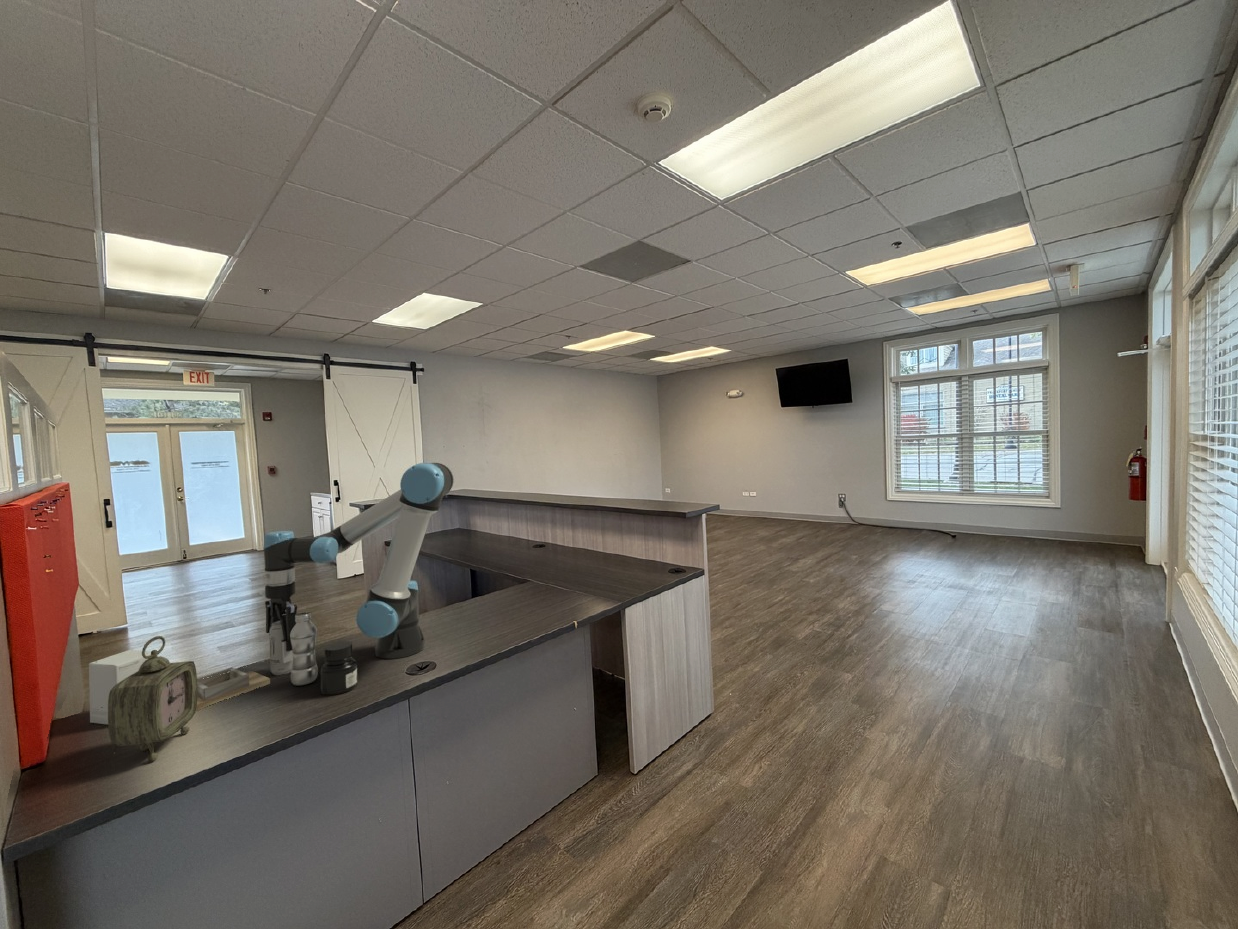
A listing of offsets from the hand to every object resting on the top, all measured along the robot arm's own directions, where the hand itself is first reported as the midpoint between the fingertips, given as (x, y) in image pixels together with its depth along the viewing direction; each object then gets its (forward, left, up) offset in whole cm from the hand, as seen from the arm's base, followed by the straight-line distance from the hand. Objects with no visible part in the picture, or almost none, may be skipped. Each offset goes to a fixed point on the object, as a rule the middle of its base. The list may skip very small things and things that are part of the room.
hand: (282, 659), depth 150 cm
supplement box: (+8, +33, -4) cm, 34 cm away
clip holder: (0, +16, -4) cm, 16 cm away
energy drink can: (0, 0, -4) cm, 4 cm away
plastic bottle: (-14, +1, -4) cm, 15 cm away
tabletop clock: (-18, +35, -4) cm, 40 cm away
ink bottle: (-26, -2, -4) cm, 26 cm away
